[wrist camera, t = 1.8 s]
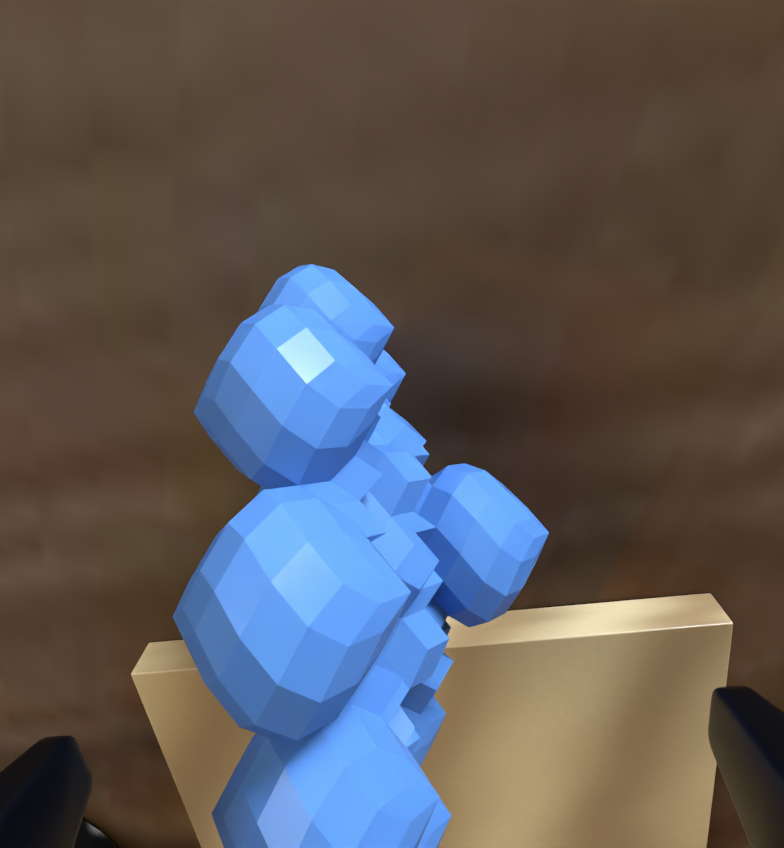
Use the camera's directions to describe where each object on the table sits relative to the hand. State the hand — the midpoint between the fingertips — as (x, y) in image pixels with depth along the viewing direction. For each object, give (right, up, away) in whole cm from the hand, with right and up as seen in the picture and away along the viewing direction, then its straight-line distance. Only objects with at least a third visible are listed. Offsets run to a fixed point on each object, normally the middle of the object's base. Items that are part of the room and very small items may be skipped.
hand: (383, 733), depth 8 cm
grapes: (0, +4, +10) cm, 10 cm away
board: (+2, -10, +15) cm, 18 cm away
